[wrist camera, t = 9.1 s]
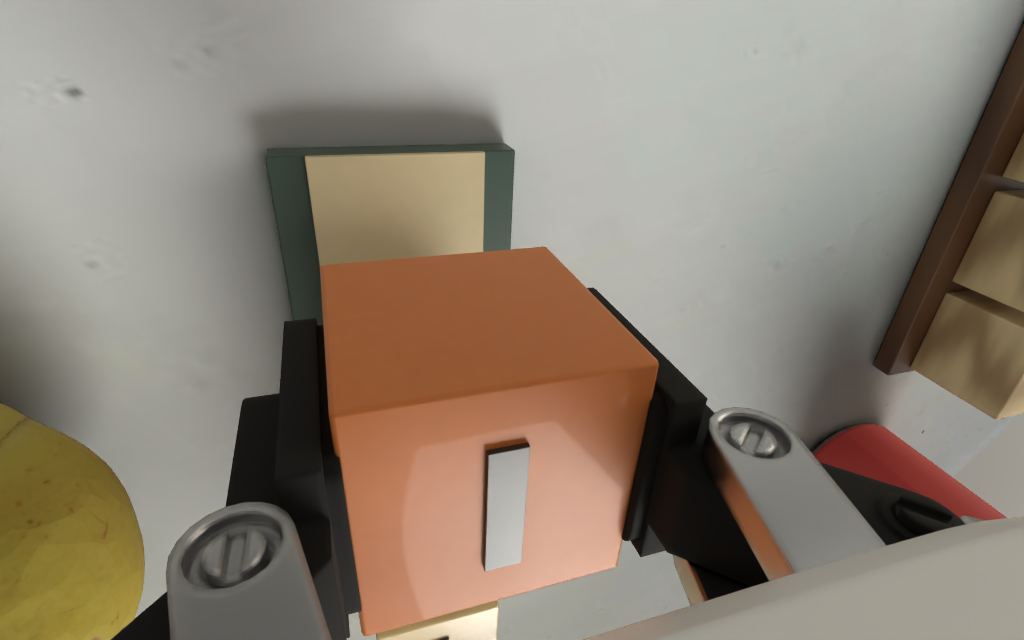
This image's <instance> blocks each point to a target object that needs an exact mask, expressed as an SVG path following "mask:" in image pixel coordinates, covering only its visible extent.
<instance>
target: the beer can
mask: <svg viewBox="0 0 1024 640" xmlns="http://www.w3.org/2000/svg"><path fill="white" fill-rule="evenodd" d="M812 454H813V455H814V457H815V458H816V459H817V460H818V461H819V462H822V463H825V464H828V465H831V466H834V467H837V468H840V469H844V470H847V471H850V472H853V473H856V474H859V475H862V476H866V477H869V478H872V479H875V480H878V481H881V482H885V483H888V484H891V485H894V486H897V487H900V488H903V489H907V490H910V491H913V492H916V493H918V494H921V495H923V496H926V497H929V498H931V499H933V500H935V501H937V502H938V503H940V504H941V505H943V506H945V507H946V508H948V509H949V510H950V511H952V512H953V513H954V514H955V515H957V516H958V517H959V518H961V517H962V515H964V516H968V517H973V518H977V519H981V520H995V519H1004V518H1006V517H1005V516H1004V515H1003V514H1001V513H1000V512H998V511H997V510H996V509H994V508H993V507H992V506H990V505H989V504H988V503H986V502H985V501H984V500H982V499H981V498H980V497H978V496H977V495H975V494H974V493H973V492H971V491H970V490H969V489H967V488H966V487H965V486H963V485H962V484H961V483H959V482H958V481H956V480H955V479H954V478H953V477H951V476H950V475H948V474H947V473H946V472H944V471H943V470H942V469H940V468H939V467H938V466H936V465H935V464H934V463H932V462H931V461H930V460H928V459H927V458H925V457H924V456H923V455H921V454H920V453H919V452H917V451H916V450H915V449H913V448H912V447H911V446H909V445H908V444H907V443H905V442H904V441H902V440H901V439H900V438H898V437H897V436H896V435H894V434H893V433H892V432H890V431H889V430H888V429H886V428H885V427H882V426H878V425H874V424H860V425H854V426H850V427H848V428H845V429H843V430H841V431H838V432H836V433H835V434H833V435H832V436H830V437H829V438H827V439H826V440H824V441H823V442H822V443H821V444H820V445H819V446H818V447H817V448H816V449H815V450H813V451H812Z"/></svg>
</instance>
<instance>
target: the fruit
mask: <svg viewBox="0 0 1024 640" xmlns="http://www.w3.org/2000/svg"><path fill="white" fill-rule="evenodd" d="M144 568H145V560H144V546H143V539H142V535H141V532H140V528H139V525H138V521H137V518H136V515H135V512H134V509H133V506H132V503H131V501H130V498H129V496H128V494H127V492H126V490H125V488H124V487H123V485H122V484H121V482H120V481H119V479H118V478H117V476H116V475H115V473H114V472H113V471H112V469H111V468H110V467H109V466H108V465H107V464H106V463H105V462H104V461H103V460H102V459H101V458H100V457H99V456H97V455H96V454H95V453H94V452H92V451H91V450H90V449H89V448H87V447H86V446H84V445H82V444H81V443H79V442H77V441H75V440H74V439H72V438H70V437H68V436H67V435H65V434H63V433H61V432H59V431H57V430H55V429H53V428H50V427H48V426H46V425H43V424H41V423H39V422H37V421H34V420H32V419H30V418H28V417H26V416H25V415H23V414H21V413H19V412H18V411H16V410H14V409H13V408H10V407H8V406H6V405H4V404H2V403H0V640H111V639H112V638H113V637H114V636H115V635H116V634H118V633H119V632H120V631H121V630H122V629H123V628H125V627H126V626H127V625H128V624H129V623H131V622H132V621H133V620H134V619H135V615H136V612H137V609H138V605H139V602H140V598H141V594H142V590H143V583H144Z"/></svg>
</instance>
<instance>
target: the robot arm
mask: <svg viewBox="0 0 1024 640" xmlns="http://www.w3.org/2000/svg"><path fill="white" fill-rule="evenodd" d="M587 289H588V290H589V291H590V292H591V293H592V294H593V295H594V296H595V297H596V298H597V299H598V300H599V301H600V302H601V303H602V304H603V305H604V306H605V307H606V308H607V309H608V310H609V311H610V312H611V314H612V315H613V316H614V317H615V318H616V319H617V320H618V321H619V322H620V323H621V324H622V325H623V326H624V327H625V328H626V329H627V330H628V331H629V332H630V333H631V334H632V335H633V336H634V337H635V338H636V339H637V340H638V341H639V342H640V343H641V344H642V345H643V346H644V347H645V348H646V349H647V350H648V351H649V352H650V353H651V354H652V355H653V356H654V357H655V358H656V359H657V360H658V364H659V367H658V372H657V376H656V381H655V386H654V391H653V395H652V400H650V404H649V408H648V413H647V418H646V423H645V427H644V432H643V437H642V442H641V447H640V451H639V456H638V461H637V466H636V471H635V475H634V480H633V485H632V490H631V495H630V499H629V504H628V509H627V514H626V519H625V523H624V528H623V533H622V539H623V540H624V541H629V540H631V542H632V544H633V545H634V547H635V549H636V550H637V552H638V554H639V555H640V557H643V556H647V555H650V554H654V553H658V552H661V551H665V550H666V551H667V552H668V553H670V554H673V559H674V564H675V567H676V570H677V572H678V575H679V578H680V580H681V583H682V585H683V588H684V590H685V593H686V595H687V598H688V600H689V603H690V605H691V606H689V607H686V608H682V609H679V610H676V611H673V612H670V613H666V614H663V615H660V616H657V617H654V618H650V619H647V620H644V621H641V622H638V623H635V624H631V625H628V626H625V627H622V628H619V629H616V630H612V631H609V632H606V633H603V634H600V635H597V636H593V637H590V638H587V639H584V640H1024V516H1021V517H1012V518H1004V519H995V520H981V519H977V518H973V517H968V516H964V515H962V517H961V518H959V517H958V516H957V515H955V514H954V513H953V512H952V511H950V510H949V509H948V508H946V507H945V506H943V505H941V504H940V503H938V502H937V501H935V500H933V499H931V498H929V497H926V496H923V495H921V494H918V493H916V492H913V491H910V490H907V489H903V488H900V487H897V486H894V485H891V484H888V483H885V482H881V481H878V480H875V479H872V478H869V477H866V476H862V475H859V474H856V473H853V472H850V471H847V470H844V469H840V468H837V467H834V466H831V465H828V464H825V463H822V462H819V461H818V460H817V459H816V458H815V457H814V455H813V454H812V453H811V452H810V450H809V449H808V448H807V447H806V445H805V444H804V443H803V442H802V440H801V439H800V438H799V437H798V435H797V434H796V433H795V432H794V431H793V430H792V429H791V428H790V427H789V426H788V425H787V424H785V423H783V422H782V421H780V420H779V419H777V418H776V417H773V416H771V415H769V414H766V413H764V412H762V411H758V410H754V409H750V408H740V407H732V408H725V409H722V410H720V411H718V412H715V413H714V412H713V411H712V410H711V409H710V408H709V407H708V406H707V405H706V401H707V398H706V397H705V396H704V395H703V394H702V393H701V392H700V391H699V390H698V389H697V388H696V387H695V386H694V385H693V384H692V383H691V382H690V381H689V380H688V379H687V378H686V377H685V376H684V375H683V374H682V373H681V372H680V371H679V370H678V369H677V368H676V367H675V366H674V365H673V364H672V363H671V362H670V361H669V360H667V359H666V358H665V357H664V356H663V355H662V354H661V353H660V352H659V351H658V350H657V349H656V348H655V347H654V346H653V345H652V344H651V343H650V342H649V341H648V340H647V339H646V338H645V337H644V336H643V335H642V334H641V333H640V332H639V331H638V330H637V329H636V328H635V327H634V326H633V325H632V324H631V323H630V322H629V321H628V320H627V319H626V318H625V317H624V316H623V315H622V314H621V313H619V312H618V311H617V310H616V309H615V308H614V307H613V306H612V305H611V304H610V303H609V302H608V301H607V300H606V299H605V298H604V297H603V296H602V295H601V294H600V293H599V292H598V291H597V290H596V289H594V288H587ZM166 581H167V592H166V593H165V594H163V595H162V596H161V597H160V598H159V599H157V600H156V601H155V602H154V603H153V604H152V605H150V606H149V607H148V608H147V609H146V610H145V611H143V612H142V613H141V614H140V615H139V616H138V617H136V618H135V619H134V620H133V621H132V622H131V623H129V624H128V625H127V626H126V627H125V628H123V629H122V630H121V631H120V632H119V633H118V634H116V635H115V636H114V637H113V638H112V639H111V640H346V638H349V637H350V632H349V618H348V614H352V613H356V612H360V611H362V607H361V599H360V593H359V586H358V579H357V572H356V565H355V559H354V552H353V545H352V538H351V531H350V524H349V518H348V511H347V504H346V497H345V490H344V484H343V477H342V470H341V463H340V457H337V456H336V455H335V453H334V447H333V441H332V434H331V427H330V421H329V412H328V395H327V378H326V362H325V345H324V328H323V325H318V324H317V319H316V318H310V319H301V320H292V321H284V331H283V347H282V363H281V379H280V393H279V394H272V395H265V396H258V397H251V398H245V399H244V400H243V402H242V406H241V412H240V418H239V425H238V431H237V438H236V444H235V450H234V457H233V463H232V470H231V476H230V483H229V489H228V495H227V502H226V507H224V508H222V509H220V510H218V511H215V512H213V513H211V514H209V515H207V516H205V517H204V518H203V519H201V520H200V521H198V522H197V523H195V524H194V525H193V526H191V527H190V528H189V529H188V530H187V531H186V532H185V533H184V534H183V535H182V536H181V538H180V539H179V540H178V541H177V542H176V544H175V546H174V548H173V549H172V551H171V553H170V555H169V557H168V562H167V569H166Z"/></svg>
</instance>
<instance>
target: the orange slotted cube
mask: <svg viewBox="0 0 1024 640" xmlns="http://www.w3.org/2000/svg"><path fill="white" fill-rule="evenodd" d="M320 278H321V295H322V312H323V328H324V345H325V362H326V378H327V395H328V412H329V421H330V427H331V434H332V441H333V447H334V453H335V455H336V456H337V457H340V463H341V470H342V477H343V484H344V490H345V497H346V504H347V511H348V518H349V524H350V531H351V538H352V545H353V552H354V559H355V565H356V572H357V579H358V586H359V593H360V599H361V607H362V611H360V612H359V618H360V625H361V631H362V633H363V635H364V636H370V635H373V634H377V633H381V632H384V631H388V630H391V629H395V628H399V627H402V626H406V625H409V624H413V623H417V622H420V621H424V620H427V619H431V618H435V617H438V616H442V615H445V614H449V613H453V612H456V611H460V610H463V609H467V608H471V607H474V606H478V605H481V604H485V603H489V602H492V601H496V600H500V599H503V598H507V597H510V596H514V595H518V594H521V593H525V592H528V591H532V590H536V589H539V588H543V587H546V586H550V585H554V584H557V583H561V582H564V581H568V580H572V579H575V578H579V577H582V576H586V575H590V574H593V573H597V572H601V571H604V570H608V569H611V568H614V567H616V566H617V562H618V557H619V553H620V548H621V543H622V533H623V528H624V523H625V519H626V514H627V509H628V504H629V499H630V495H631V490H632V485H633V480H634V475H635V471H636V466H637V461H638V456H639V451H640V447H641V442H642V437H643V432H644V427H645V423H646V418H647V413H648V408H649V404H650V400H652V395H653V391H654V386H655V381H656V376H657V372H658V367H659V364H658V360H657V359H656V358H655V357H654V356H653V355H652V354H651V353H650V352H649V351H648V350H647V349H646V348H645V347H644V346H643V345H642V344H641V343H640V342H639V341H638V340H637V339H636V338H635V337H634V336H633V335H632V334H631V333H630V332H629V331H628V330H627V329H626V328H625V327H624V326H623V325H622V324H621V323H620V322H619V321H618V320H617V319H616V318H615V317H614V316H613V315H612V314H611V312H610V311H609V310H608V309H607V308H606V307H605V306H604V305H603V304H602V303H601V302H600V301H599V300H598V299H597V298H596V297H595V296H594V295H593V294H592V293H591V292H590V291H589V290H588V289H587V288H586V287H585V286H584V285H583V284H582V283H581V282H580V281H579V280H578V279H577V278H576V277H575V276H574V275H573V274H572V273H571V272H570V271H569V270H568V269H567V268H566V267H565V266H564V265H563V264H562V263H561V262H560V261H559V260H558V259H557V258H556V257H555V256H554V255H553V254H552V253H551V252H550V251H549V250H548V249H547V248H546V247H536V248H524V249H512V250H499V251H487V252H475V253H463V254H451V255H439V256H427V257H415V258H403V259H391V260H379V261H367V262H355V263H343V264H331V265H323V266H321V268H320Z"/></svg>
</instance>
